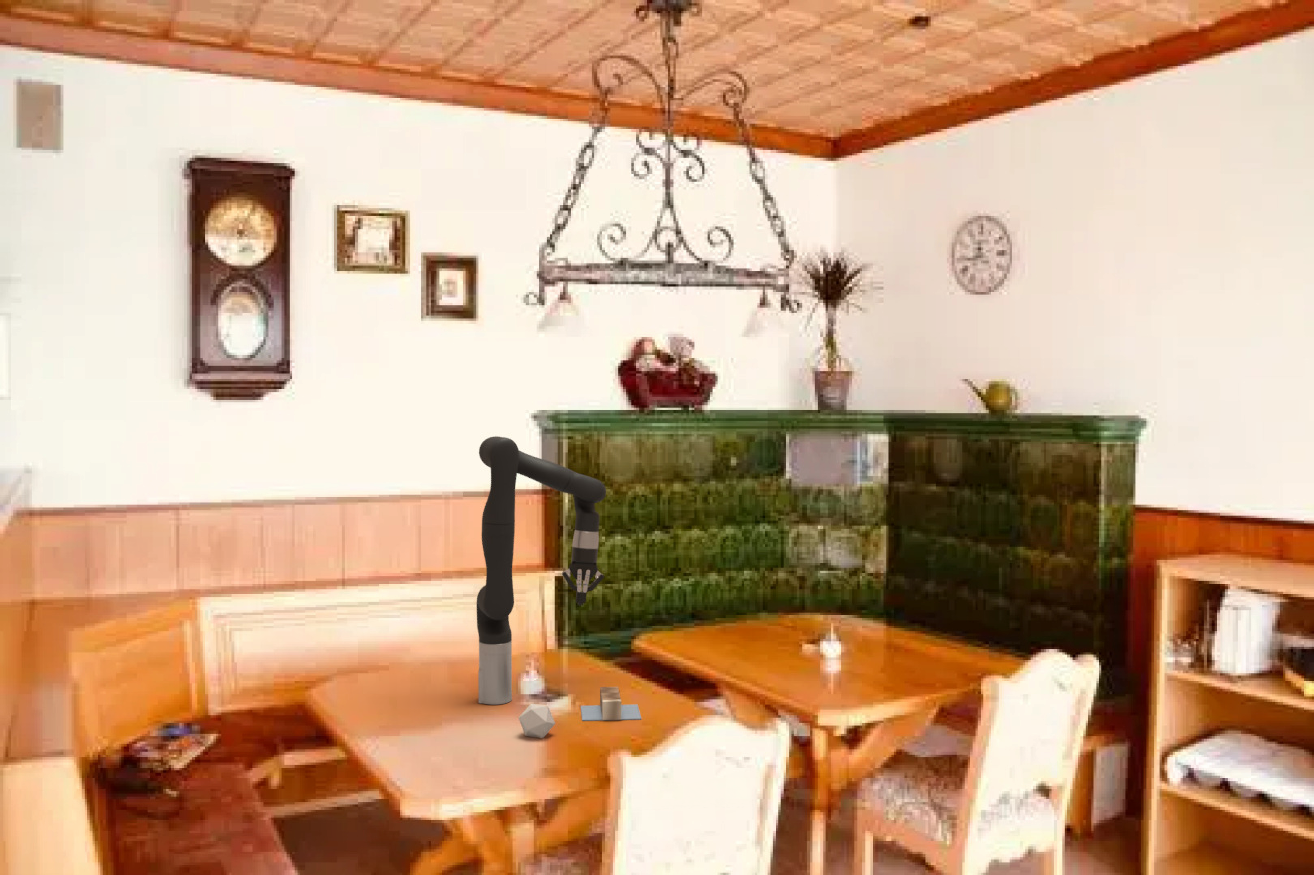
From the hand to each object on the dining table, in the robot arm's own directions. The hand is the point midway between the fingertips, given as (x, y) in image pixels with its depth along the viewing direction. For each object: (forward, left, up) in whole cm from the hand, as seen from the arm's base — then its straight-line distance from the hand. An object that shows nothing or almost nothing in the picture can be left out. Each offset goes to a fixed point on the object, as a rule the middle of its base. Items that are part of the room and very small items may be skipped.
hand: (580, 604), depth 336 cm
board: (+7, -25, -25) cm, 36 cm away
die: (-13, -42, -25) cm, 51 cm away
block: (+7, -18, -22) cm, 30 cm away
